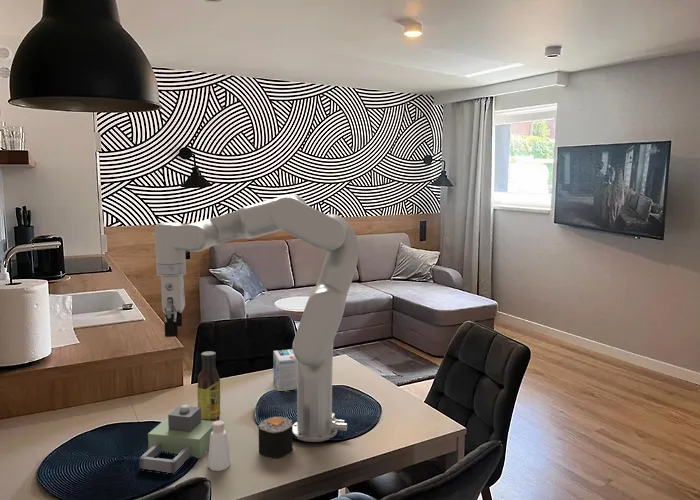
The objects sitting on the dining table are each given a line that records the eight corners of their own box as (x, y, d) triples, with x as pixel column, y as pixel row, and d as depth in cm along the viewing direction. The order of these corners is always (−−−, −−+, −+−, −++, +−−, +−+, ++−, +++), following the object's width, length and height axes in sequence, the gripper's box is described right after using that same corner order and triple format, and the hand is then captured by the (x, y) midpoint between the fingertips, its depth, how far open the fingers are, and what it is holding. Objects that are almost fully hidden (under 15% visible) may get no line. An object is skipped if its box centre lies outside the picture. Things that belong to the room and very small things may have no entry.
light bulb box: (272, 380, 188) (272, 350, 186) (292, 378, 190) (292, 348, 188) (278, 392, 178) (278, 360, 176) (298, 390, 180) (298, 358, 178)
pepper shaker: (218, 457, 137) (218, 415, 135) (235, 463, 134) (234, 420, 133) (202, 467, 132) (201, 424, 131) (219, 473, 130) (218, 429, 128)
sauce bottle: (214, 426, 153) (213, 358, 151) (193, 424, 155) (192, 356, 152) (224, 416, 160) (223, 350, 157) (204, 414, 161) (202, 349, 158)
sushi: (253, 453, 139) (252, 423, 138) (273, 439, 147) (273, 411, 145) (278, 461, 135) (278, 431, 134) (298, 447, 142) (298, 418, 141)
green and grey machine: (217, 439, 146) (216, 403, 145) (184, 475, 129) (182, 434, 127) (169, 434, 149) (167, 398, 147) (130, 468, 131) (128, 428, 130)
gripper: (182, 274, 139) (184, 340, 141) (189, 263, 156) (191, 322, 158) (151, 275, 138) (154, 341, 140) (161, 264, 154) (163, 323, 157)
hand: (173, 331), depth 149 cm, fingers open, 9 cm apart
